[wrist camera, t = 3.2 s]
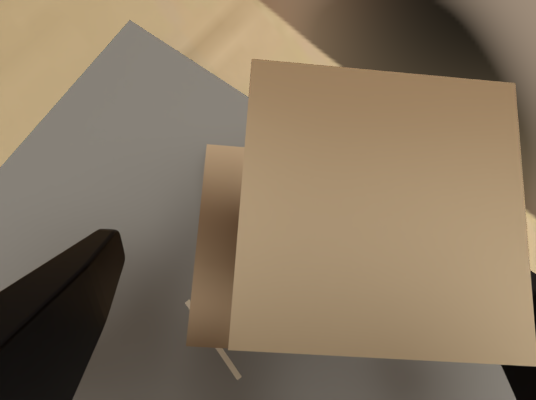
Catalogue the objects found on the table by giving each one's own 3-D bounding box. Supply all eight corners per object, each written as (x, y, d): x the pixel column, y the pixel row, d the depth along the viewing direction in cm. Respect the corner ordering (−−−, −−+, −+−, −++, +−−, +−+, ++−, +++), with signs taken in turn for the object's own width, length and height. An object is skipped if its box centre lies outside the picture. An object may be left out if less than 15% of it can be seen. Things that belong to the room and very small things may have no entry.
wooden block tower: (352, 343, 15) (788, 692, 3) (194, 334, 14) (-64, 684, 2) (355, 170, 16) (649, -80, 4) (212, 158, 16) (102, -143, 4)
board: (547, 305, 17) (576, 310, 15) (385, 653, 14) (402, 701, 12) (139, 39, 18) (129, 19, 17) (-88, 304, 15) (-126, 309, 14)
